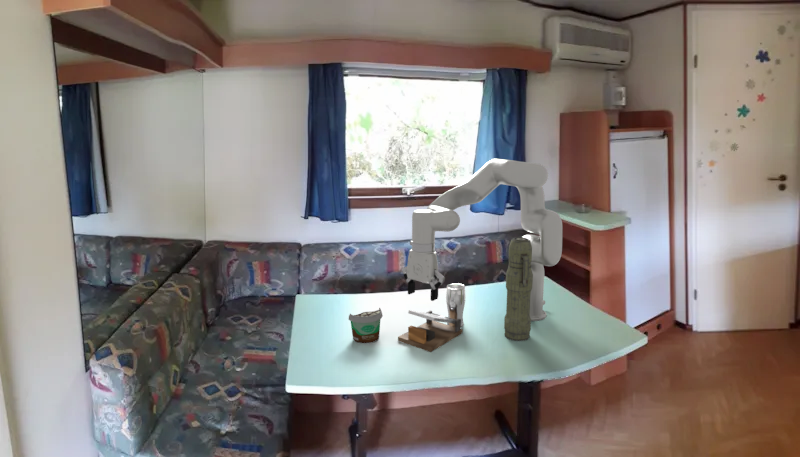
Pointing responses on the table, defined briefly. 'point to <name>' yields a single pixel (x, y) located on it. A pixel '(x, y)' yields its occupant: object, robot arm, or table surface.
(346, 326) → the table surface
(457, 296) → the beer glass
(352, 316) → the food container
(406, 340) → the plate
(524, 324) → the thermos
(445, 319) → the grey marble tile
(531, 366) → the table surface
